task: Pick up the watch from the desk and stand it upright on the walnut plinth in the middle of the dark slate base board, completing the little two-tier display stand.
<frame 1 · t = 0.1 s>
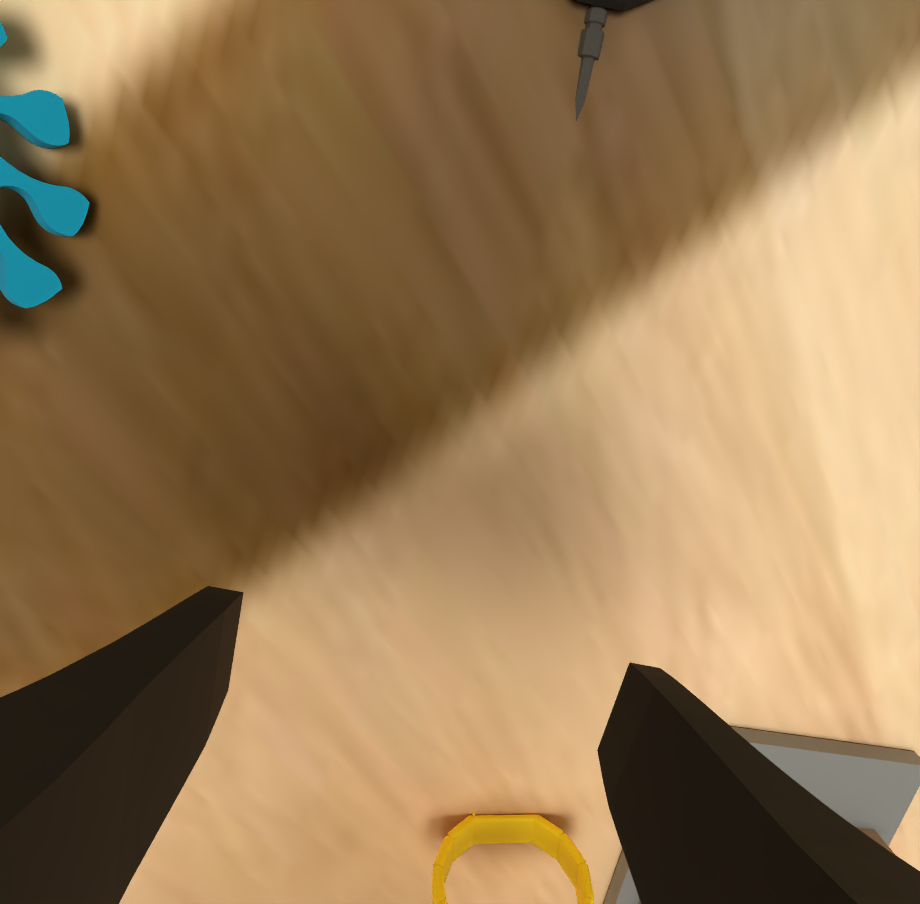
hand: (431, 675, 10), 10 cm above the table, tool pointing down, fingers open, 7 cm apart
base board: (743, 854, 26), on the table
watch: (502, 821, 25), on the table
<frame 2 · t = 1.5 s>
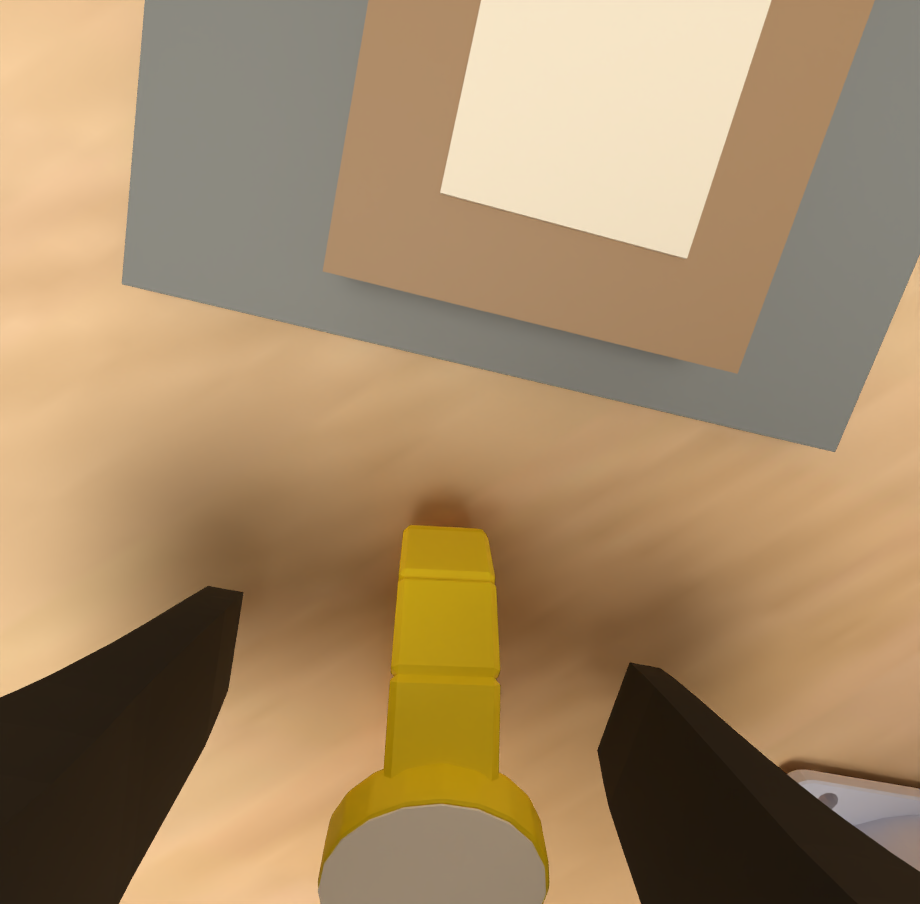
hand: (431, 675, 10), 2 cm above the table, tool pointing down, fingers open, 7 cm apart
base board: (581, 43, 10), on the table
watch: (433, 611, 13), on the table
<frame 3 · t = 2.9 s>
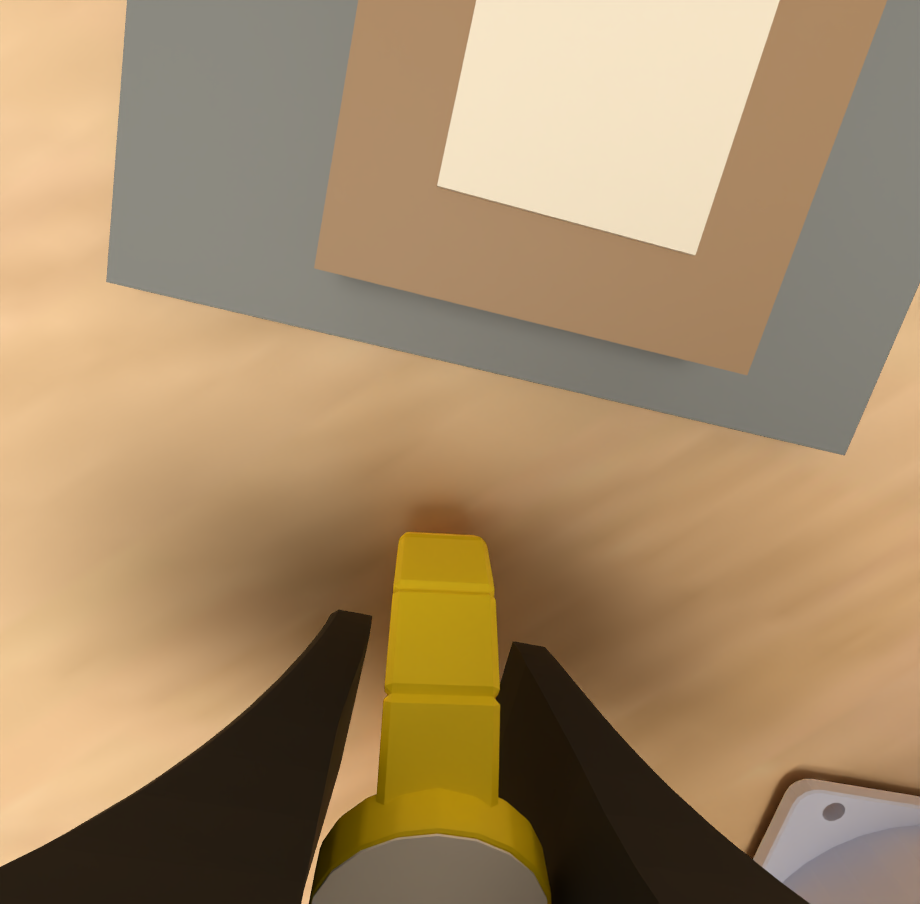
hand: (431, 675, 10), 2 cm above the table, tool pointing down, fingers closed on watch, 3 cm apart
base board: (584, 31, 9), on the table
watch: (431, 619, 12), on the table, touching gripper
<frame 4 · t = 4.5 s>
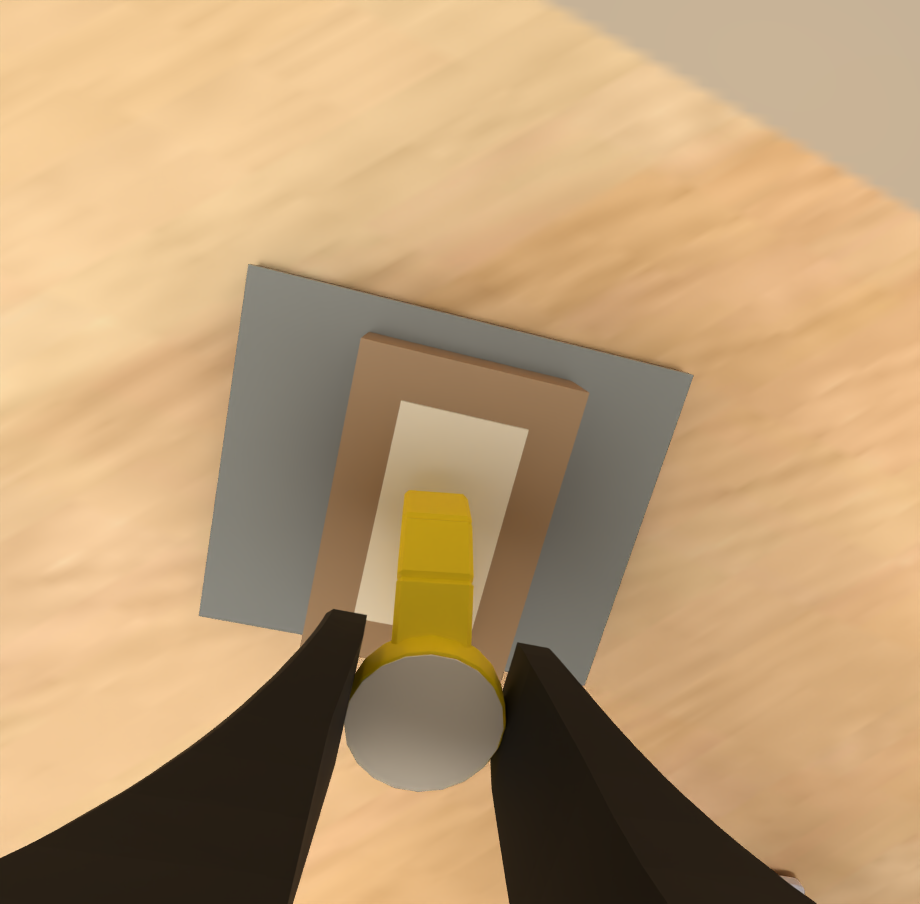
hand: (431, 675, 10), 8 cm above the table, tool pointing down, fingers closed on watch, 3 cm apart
base board: (436, 491, 18), on the table
watch: (424, 574, 16), point 3 cm above the table, touching gripper
when the fingers open (6 cm above the table, at t = 5.7 s): watch stays where it is, resting on base board.
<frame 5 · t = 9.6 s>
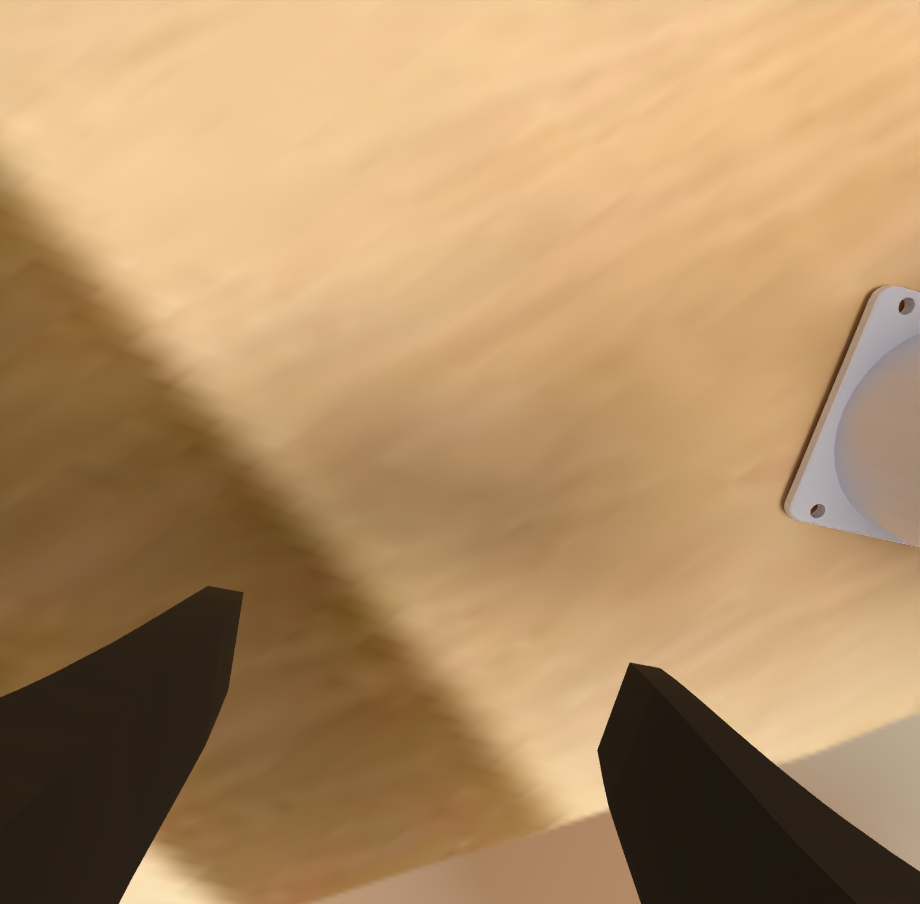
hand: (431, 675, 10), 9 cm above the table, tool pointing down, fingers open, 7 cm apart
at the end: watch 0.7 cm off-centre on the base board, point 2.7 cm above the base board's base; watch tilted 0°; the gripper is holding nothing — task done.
